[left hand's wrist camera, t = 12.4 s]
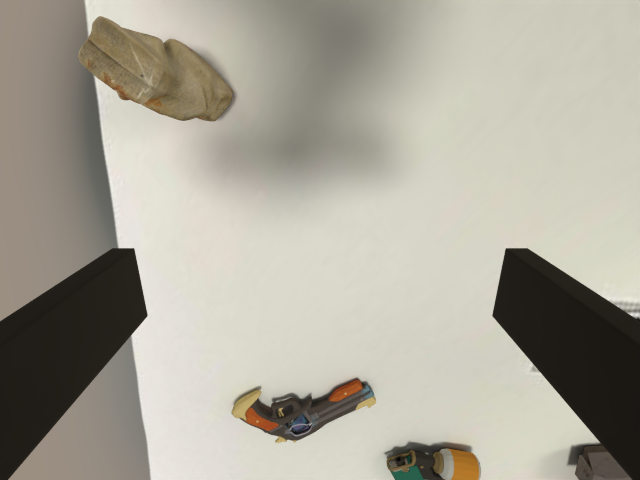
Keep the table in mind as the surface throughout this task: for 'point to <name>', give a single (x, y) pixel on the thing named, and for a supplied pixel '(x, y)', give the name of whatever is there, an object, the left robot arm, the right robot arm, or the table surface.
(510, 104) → the table surface
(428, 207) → the table surface
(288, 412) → the toy gun
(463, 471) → the spray gun
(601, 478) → the toy
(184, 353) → the table surface
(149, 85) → the sculpture
